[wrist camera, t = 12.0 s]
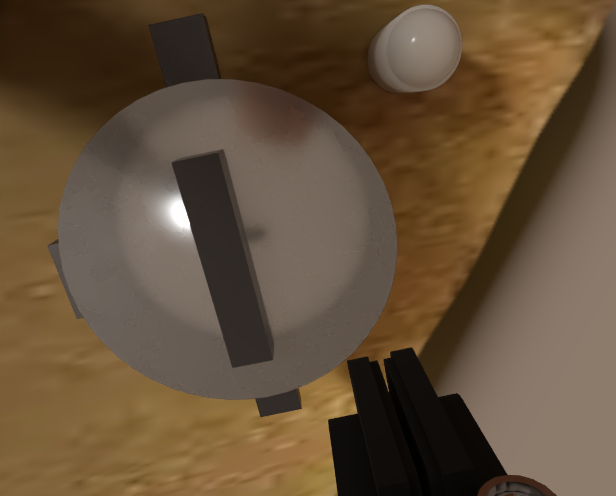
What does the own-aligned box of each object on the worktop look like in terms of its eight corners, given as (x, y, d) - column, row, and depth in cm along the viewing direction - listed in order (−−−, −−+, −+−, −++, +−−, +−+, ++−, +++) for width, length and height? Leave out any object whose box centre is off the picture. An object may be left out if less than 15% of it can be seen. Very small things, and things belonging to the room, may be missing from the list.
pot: (60, 72, 33) (-31, 60, 24) (325, 14, 33) (340, -22, 24) (165, 371, 41) (129, 452, 32) (379, 327, 41) (407, 395, 32)
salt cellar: (362, 29, 33) (384, 7, 26) (428, 14, 33) (471, -12, 26) (372, 99, 35) (397, 98, 27) (436, 85, 35) (479, 80, 27)
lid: (13, 121, 24) (-22, 124, 22) (365, 44, 24) (374, 37, 21) (128, 414, 30) (112, 444, 28) (413, 359, 30) (425, 385, 27)
